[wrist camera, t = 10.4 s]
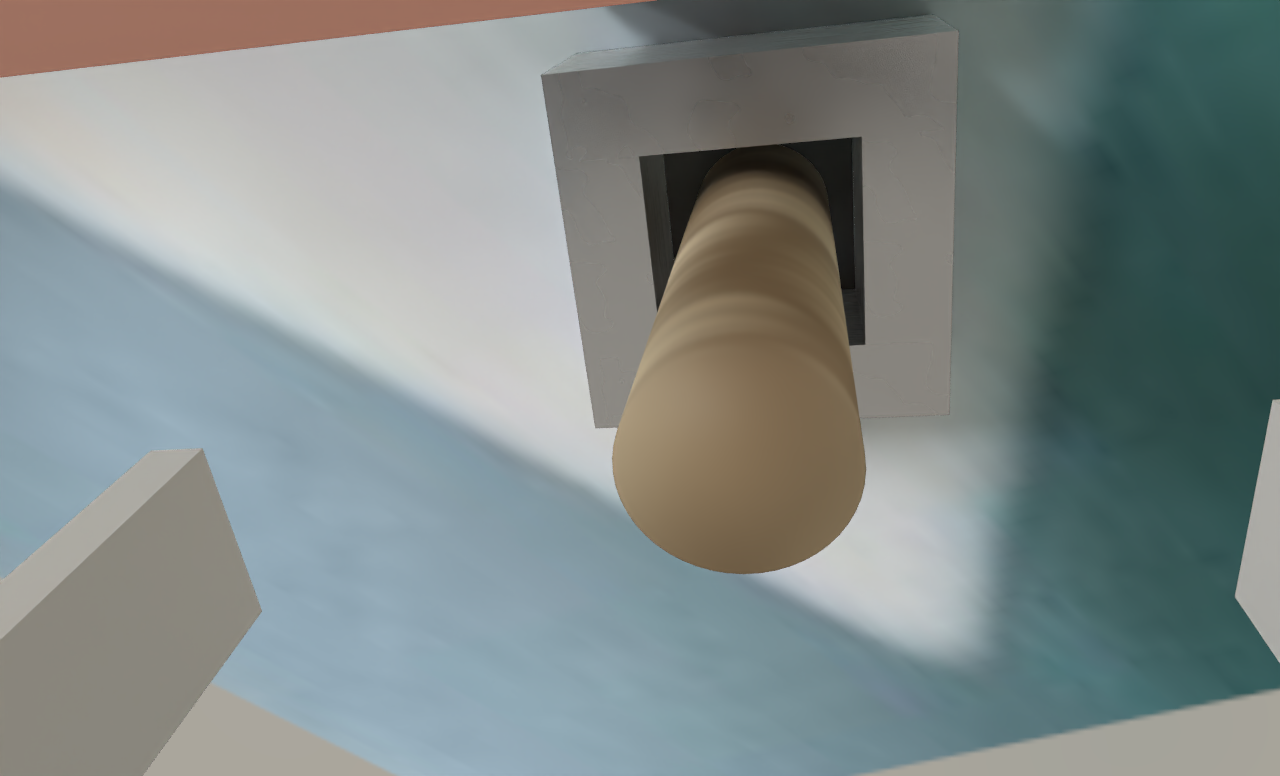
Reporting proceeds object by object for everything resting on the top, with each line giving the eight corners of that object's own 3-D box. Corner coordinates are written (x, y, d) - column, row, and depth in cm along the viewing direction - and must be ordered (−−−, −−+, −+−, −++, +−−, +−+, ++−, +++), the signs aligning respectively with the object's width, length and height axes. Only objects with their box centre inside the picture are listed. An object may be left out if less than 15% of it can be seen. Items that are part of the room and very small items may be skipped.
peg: (701, 275, 27) (626, 573, 15) (691, 148, 26) (598, 360, 13) (829, 268, 26) (865, 574, 14) (827, 137, 25) (865, 350, 12)
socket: (619, 365, 29) (595, 428, 25) (576, 53, 25) (541, 75, 21) (928, 350, 27) (949, 414, 24) (933, 14, 23) (958, 30, 20)
